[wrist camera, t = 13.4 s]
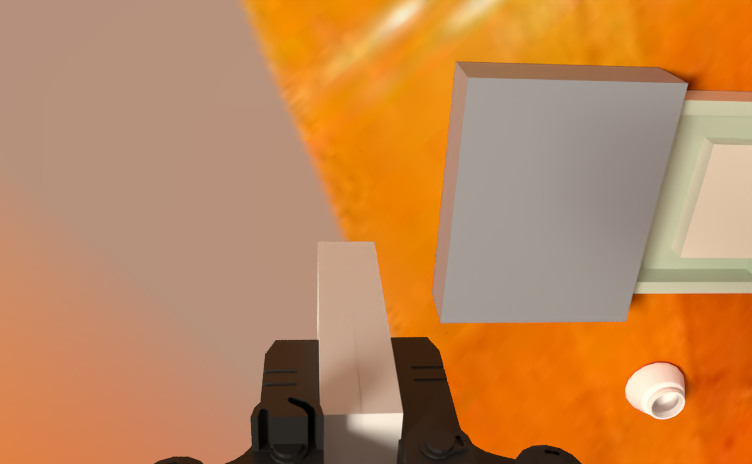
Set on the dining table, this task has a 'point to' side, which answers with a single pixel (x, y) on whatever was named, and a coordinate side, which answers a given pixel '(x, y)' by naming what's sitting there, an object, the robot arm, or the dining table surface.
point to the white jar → (657, 390)
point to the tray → (660, 263)
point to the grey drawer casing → (550, 189)
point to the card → (718, 202)
